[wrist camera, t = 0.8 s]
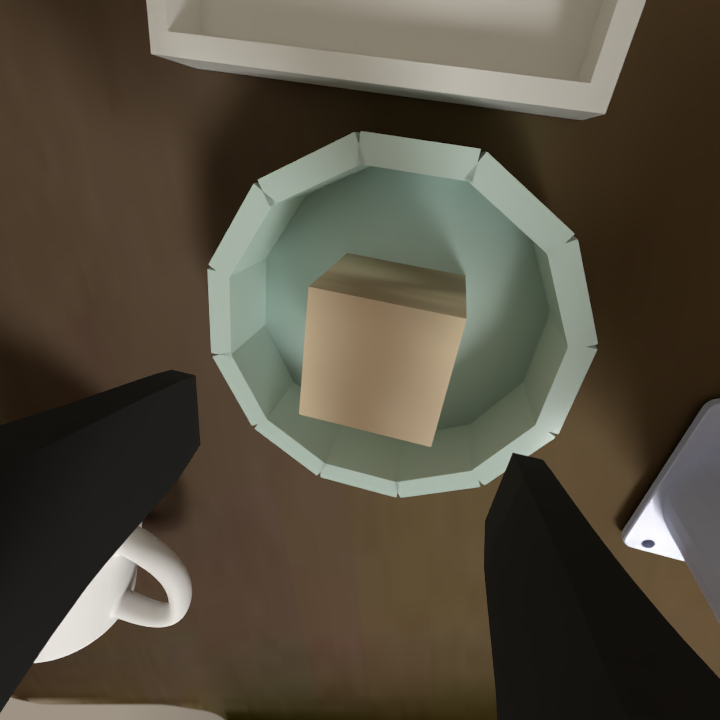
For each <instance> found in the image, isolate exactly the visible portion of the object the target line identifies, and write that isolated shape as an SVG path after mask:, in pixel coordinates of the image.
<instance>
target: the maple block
mask: <svg viewBox="0 0 720 720" xmlns="http://www.w3.org/2000/svg"><path fill="white" fill-rule="evenodd" d="M466 320H467V311H466V276H465V275H460V274H454V273H449V272H444V271H439V270H433V269H428V268H423V267H418V266H412V265H407V264H402V263H397V262H391V261H386V260H381V259H376V258H370V257H365V256H360V255H355V254H349V253H347V254H346V255H344V256H343V257H342V258H341V259H340V260H339V261H337V262H336V263H335V264H334V265H333V266H332V267H331V268H329V269H328V270H327V271H326V272H325V273H324V274H322V275H321V276H320V277H319V278H318V279H317V280H316V281H314V282H313V283H312V284H311V285H310V286H309V287H308V300H307V313H306V326H305V340H304V353H303V366H302V379H301V393H300V406H299V414H300V415H304V416H308V417H312V418H316V419H320V420H324V421H328V422H332V423H336V424H340V425H344V426H348V427H352V428H356V429H360V430H364V431H368V432H372V433H376V434H380V435H384V436H388V437H392V438H396V439H400V440H404V441H408V442H412V443H416V444H420V445H424V446H428V447H431V446H432V442H433V439H434V435H435V431H436V428H437V424H438V421H439V417H440V413H441V410H442V406H443V403H444V399H445V395H446V392H447V388H448V384H449V381H450V377H451V374H452V370H453V366H454V363H455V359H456V356H457V352H458V348H459V345H460V341H461V338H462V334H463V330H464V327H465V323H466Z"/></svg>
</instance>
